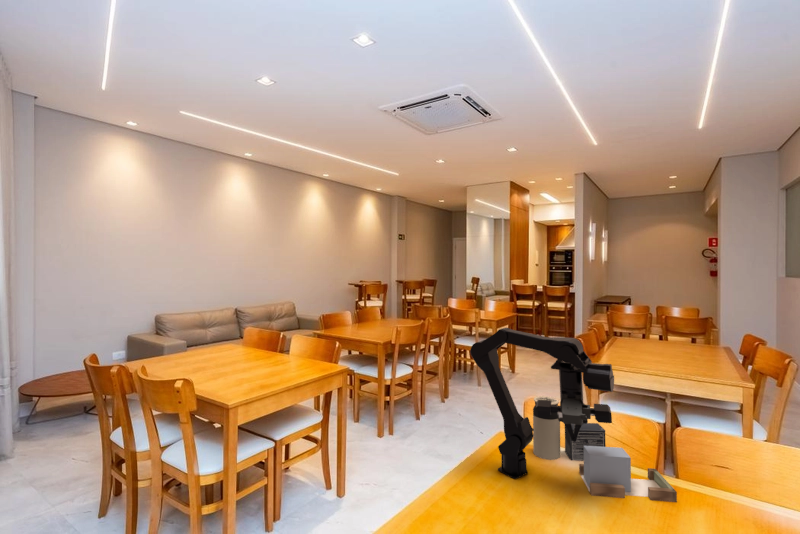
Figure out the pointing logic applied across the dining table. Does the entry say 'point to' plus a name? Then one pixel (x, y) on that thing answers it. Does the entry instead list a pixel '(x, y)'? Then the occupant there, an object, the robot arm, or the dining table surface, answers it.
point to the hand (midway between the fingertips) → (573, 440)
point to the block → (607, 466)
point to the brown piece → (635, 487)
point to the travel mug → (546, 433)
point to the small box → (584, 440)
